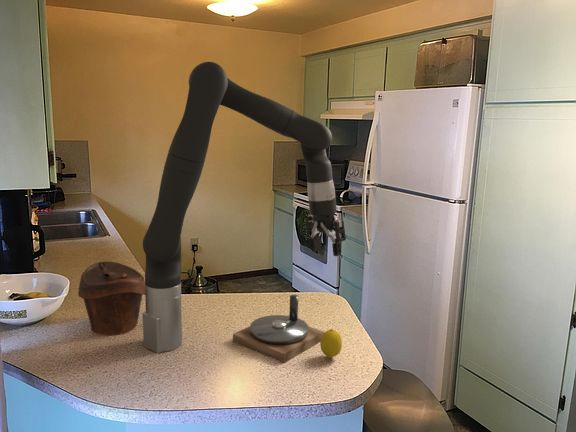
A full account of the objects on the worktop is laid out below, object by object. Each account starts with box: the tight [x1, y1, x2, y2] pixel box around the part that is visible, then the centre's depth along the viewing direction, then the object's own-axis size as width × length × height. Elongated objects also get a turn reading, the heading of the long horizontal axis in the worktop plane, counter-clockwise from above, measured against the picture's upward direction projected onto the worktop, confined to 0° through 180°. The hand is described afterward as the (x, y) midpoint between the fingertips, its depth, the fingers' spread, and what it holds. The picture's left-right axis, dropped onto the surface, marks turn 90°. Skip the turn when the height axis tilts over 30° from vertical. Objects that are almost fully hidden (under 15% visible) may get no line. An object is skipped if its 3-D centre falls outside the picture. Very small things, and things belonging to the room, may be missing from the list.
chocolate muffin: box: [77, 261, 145, 336], centre depth 139 cm, size 18×20×18 cm
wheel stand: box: [232, 325, 325, 364], centre depth 134 cm, size 18×18×3 cm
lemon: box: [319, 328, 343, 359], centre depth 125 cm, size 6×6×8 cm
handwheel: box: [249, 294, 309, 344], centre depth 133 cm, size 16×16×9 cm
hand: (327, 252), depth 137 cm, fingers open, 8 cm apart
